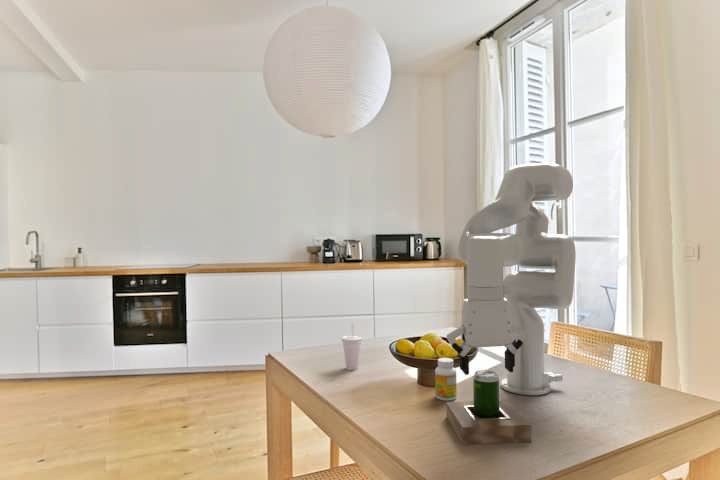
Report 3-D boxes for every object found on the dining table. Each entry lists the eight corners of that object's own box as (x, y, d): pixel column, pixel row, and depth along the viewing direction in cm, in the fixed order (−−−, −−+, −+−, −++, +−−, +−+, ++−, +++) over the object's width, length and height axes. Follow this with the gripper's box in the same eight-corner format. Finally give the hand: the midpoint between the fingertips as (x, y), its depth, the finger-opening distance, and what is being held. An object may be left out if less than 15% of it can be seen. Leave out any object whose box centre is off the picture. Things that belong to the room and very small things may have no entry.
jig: (506, 415, 110) (506, 400, 110) (531, 442, 96) (531, 424, 96) (446, 417, 109) (446, 402, 109) (463, 444, 95) (462, 427, 95)
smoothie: (366, 367, 150) (365, 323, 150) (355, 372, 145) (354, 326, 144) (349, 364, 154) (348, 321, 153) (337, 369, 148) (337, 324, 148)
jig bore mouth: (497, 405, 107) (497, 404, 107) (510, 419, 99) (510, 418, 99) (463, 406, 106) (463, 405, 106) (473, 420, 99) (473, 419, 99)
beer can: (487, 436, 99) (487, 379, 99) (468, 427, 104) (468, 372, 103) (504, 430, 102) (504, 374, 102) (485, 421, 107) (485, 368, 106)
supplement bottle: (431, 395, 124) (430, 358, 124) (448, 392, 126) (448, 356, 126) (442, 402, 119) (442, 363, 119) (460, 399, 121) (460, 361, 121)
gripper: (518, 288, 107) (519, 363, 108) (441, 292, 106) (443, 368, 107) (532, 294, 99) (533, 375, 100) (450, 298, 98) (452, 379, 99)
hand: (487, 371), depth 103 cm, fingers open, 9 cm apart
